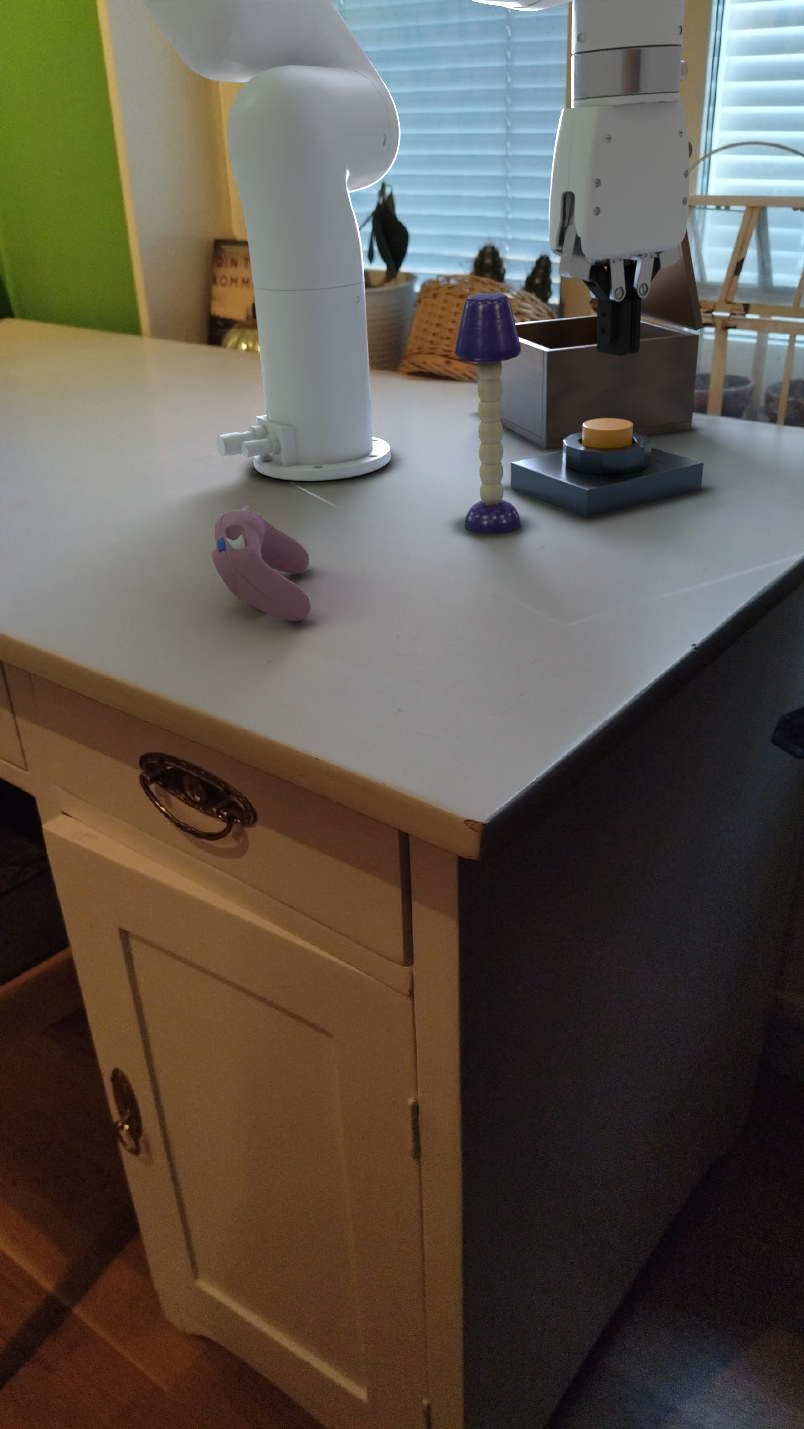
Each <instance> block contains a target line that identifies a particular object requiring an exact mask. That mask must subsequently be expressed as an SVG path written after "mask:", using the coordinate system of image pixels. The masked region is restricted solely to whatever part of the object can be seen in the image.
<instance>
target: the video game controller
mask: <svg viewBox="0 0 804 1429" xmlns="http://www.w3.org/2000/svg"><path fill="white" fill-rule="evenodd" d="M214 539H215V540H214V541H215V546H216V548H215V549H213V550H212V551H211V558H212V562H213V564H214V566H215V569H216V571H217V573H218V575H219V576H220V578H221V580H222V581H223V583H224V584H225V586H226V587H227V588H228V590H229V591H230V592H231V593H232V594H233V595H234V596H235V597H236V598H238V599H242V601H244V602H246V603H247V604H248V605H249V606H250V607H251V608H252V609H253V610H260V611H261V612H264V613H266V614H268V615H270V616H272V617H275V618H278V619H281V620H283V621H289V622H295V621H302V620H305V619H306V618H307V617H308V615H309V614H310V612H311V608H312V605H311V601H310V597H309V596H308V595H307V593H305V591H304V590H303V588H301V587H300V586H299V585H298V584H296V583H295V582H293V581H291V580H290V579H288V578H287V577H286V576H284V575H282V574H280V573H279V572H283V573H287V574H301V573H303V572H305V571H306V570H307V569H308V567H309V565H310V556H309V553H308V551H307V550H306V548H305V547H304V546H303V544H301V543H300V542H299V541H298V540H296V539H295V538H293V537H291V535H289V534H287V533H285V532H283V531H282V530H280V529H279V528H277V527H275V526H274V525H273V524H271V523H270V522H269V521H267V520H266V519H265V518H264V517H263V515H261V514H259V512H258V511H255V510H250V507H249V506H248V505H245V506H244V507H243V509H241V510H238V509H232V510H230V511H228V512H226V513H224V514H222V515H221V516H219V517H218V518H216V521H215V523H214ZM278 571H279V572H278Z"/></svg>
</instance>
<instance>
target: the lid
mask: <svg viewBox="0 0 804 1429" xmlns="http://www.w3.org/2000/svg"><path fill="white" fill-rule="evenodd" d="M688 146H689V159H691V157H692V155H693V150H694V149H693V145H692V143H691V142H690V141H689V140H688ZM678 248H679V259H678V261H677V262H676V263H674V264H672V265H670V266H668V267H666V268H664V269H662V270H659V271H658V273H657V274H656V276H655V277H654V278H653V280H652V281H651V284H650V290H649V293H648V295H647V296H646V297H645V298H641V318H642V317H643V318H647V319H651V320H653V321H658V322H662V323H665V324H669V325H673V326H677V327H680V328H684V329H688V330H691V331H696V332H697V331H699V330H701V329H703V328H704V324H703V318H702V312H701V305H700V299H699V293H698V287H697V281H696V275H695V269H694V264H693V257H692V252H691V245H690V238H689V234H688V228H686V233H685V237H684V239H683V241H682V242H681V243H680V244H679V245H678ZM634 262H635V260H634Z"/></svg>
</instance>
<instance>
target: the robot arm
mask: <svg viewBox="0 0 804 1429" xmlns="http://www.w3.org/2000/svg"><path fill="white" fill-rule="evenodd" d="M141 1H142V2H143V4H144V6H145V7H146V8H147V10H148V11H149V13H150V14H151V16H152V18H153V19H154V20H155V22H156V23H157V25H158V27H159V28H160V29H161V31H162V32H163V34H164V36H165V37H166V39H167V40H168V41H169V44H171V46H172V47H173V49H174V50H175V52H176V53H177V55H178V56H179V57H180V58H181V60H182V62H184V63H185V65H186V66H187V67H188V68H189V69H190V70H191V71H192V72H193V73H195V74H197V75H199V76H201V77H203V78H205V79H208V80H211V81H216V82H227V83H244V85H243V86H241V88H240V90H239V91H238V92H237V95H236V96H235V97H234V100H233V102H232V105H231V107H230V110H229V113H228V118H227V123H226V124H227V125H226V126H227V127H226V142H227V153H228V158H229V163H230V167H231V172H232V175H233V180H234V183H235V186H236V190H237V193H238V197H239V201H240V207H241V209H242V214H243V219H244V224H245V231H246V238H247V244H248V253H249V262H250V272H251V281H252V287H253V296H254V297H253V298H254V307H255V316H256V317H255V318H256V327H257V338H258V348H259V358H260V368H261V376H262V377H261V378H262V387H263V396H264V397H263V399H264V407H265V414H261V415H256V416H255V422H256V424H255V425H252V426H249V427H248V430H247V431H242V432H238V431H236V432H230V433H229V432H228V433H224V434H218V435H217V436H216V447H217V450H218V453H219V455H220V457H222V458H226V457H231V456H237V455H241V454H242V455H243V457H244V458H246V459H247V458H251V457H253V458H252V459H253V466H254V469H255V470H256V471H257V472H258V473H259V474H262V475H264V476H266V477H270V478H274V479H279V480H285V481H287V480H288V481H297V482H298V481H300V482H301V481H303V482H305V481H306V482H315V481H317V482H318V481H330V480H331V481H334V480H342V479H348V478H353V477H358V476H362V475H366V474H370V473H372V472H375V471H377V470H379V469H381V468H383V467H385V466H386V465H387V464H388V463H390V461H391V458H392V455H391V454H392V453H391V446H390V445H389V443H388V442H386V441H384V440H383V439H380V438H377V437H375V436H374V433H373V432H374V430H373V414H372V413H373V412H372V396H371V394H372V393H371V378H370V376H371V375H370V359H369V356H370V355H369V339H368V322H367V320H368V319H367V303H366V302H367V300H366V285H365V284H366V282H365V272H364V270H365V269H364V258H363V257H364V256H363V249H362V248H363V247H362V240H361V235H360V230H359V225H358V222H357V218H356V214H355V211H354V208H353V204H352V201H351V196H350V193H352V192H356V191H361V190H364V189H367V188H369V187H372V186H373V185H375V184H377V183H378V182H379V181H380V180H381V179H383V178H384V177H385V176H386V175H387V173H388V172H389V171H390V170H391V168H392V167H393V165H394V162H395V161H396V158H397V155H398V151H399V147H400V140H401V126H400V119H399V115H398V111H397V107H396V105H395V101H394V99H393V97H392V95H391V93H390V90H389V89H388V87H387V85H386V84H385V82H384V80H383V79H382V77H381V75H380V74H379V72H378V71H377V69H376V67H375V66H374V64H373V62H372V61H371V59H369V56H368V55H367V54H366V52H365V51H364V49H363V46H361V44H360V42H359V41H358V40H357V38H356V36H355V35H354V34H353V32H352V30H351V29H350V28H349V26H348V24H347V23H346V20H345V19H344V18H343V17H342V15H341V13H340V12H339V10H338V9H337V7H336V6H335V4H334V3H333V1H332V0H141ZM473 1H474V2H478V3H481V4H488V5H495V6H501V7H504V8H506V9H512V10H517V11H518V10H519V11H526V12H533V11H535V12H536V11H541V10H546V9H550V8H554V7H558V6H561V5H564V4H567V3H571V2H572V8H571V9H572V12H571V13H572V18H571V19H572V21H571V22H572V24H571V27H572V28H571V54H572V56H571V107H569V108H562V110H561V114H560V118H559V121H558V122H559V123H558V126H557V132H556V138H555V143H554V151H553V159H552V165H551V166H552V167H551V168H552V169H551V177H550V179H551V180H550V191H549V209H548V211H549V212H548V243H549V244H548V246H549V250H550V251H551V252H552V254H554V255H556V256H557V257H560V262H559V267H558V272H559V275H560V277H562V278H567V279H574V280H578V281H582V282H583V284H584V285H585V286H586V287H587V288H588V290H589V296H590V297H591V298H592V299H594V300H597V302H596V304H597V306H596V308H597V309H596V315H597V350H598V351H599V352H601V353H606V354H612V355H617V356H624V355H627V354H635V353H638V352H639V349H640V325H641V319H642V316H641V298H645V297H646V296H647V295H648V293H649V290H650V284H651V281H652V280H653V278H654V277H655V276H656V274H657V273H658V271H659V270H662V269H664V268H666V267H668V266H670V265H672V264H674V263H676V262H677V261H678V259H679V248H678V245H679V244H680V243H681V242H682V241H683V239H684V237H685V233H686V228H687V227H688V220H689V219H688V218H689V207H690V158H689V146H688V141H689V132H688V121H687V113H686V107H685V100H681V98H680V97H681V82H683V81H685V80H686V78H687V77H688V72H689V71H688V70H689V67H688V64H687V62H686V61H685V60H682V59H683V57H682V56H683V39H684V20H685V0H473ZM687 229H688V228H687ZM634 260H635V262H634Z"/></svg>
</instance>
